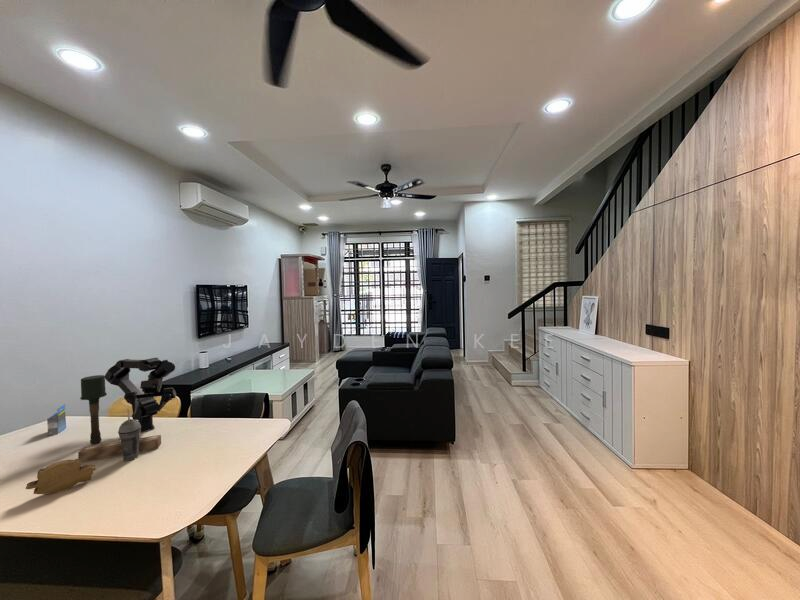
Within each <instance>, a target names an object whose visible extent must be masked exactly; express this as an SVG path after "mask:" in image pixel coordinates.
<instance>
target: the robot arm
mask: <svg viewBox="0 0 800 600" xmlns="http://www.w3.org/2000/svg"><path fill="white" fill-rule="evenodd" d="M131 369H138V370H139V371H141V372H149V371H150V372H149V373H148V375H147V377H148V378H147V380H141V382H140V387H139V388H140V389H141V390H140V389H139V388H138V387H137V386H136V385H135V384H134V383H133V381H132V380H130V373H131ZM175 370H176V365H175V364H174V363H173V362H171V361H168V359H163V360H160V359H159V357H151V358H146V359H130V358H127V359H119V360H118V361H116V363H115V364H114V365H113V366H111V367H110V368H108V370H107V371H106V373H105V375H104V376H105V381H107V382H108V383H109V384H110V385H114V386H116V387H118V388H119V389H121V391H122V392H123V393H124V396H123V399H124V400H125V401H126V403H127V404H130V405H131V409H132V415H131V417H132V419H134V420H137V421H138V422H139V423H140V425H141V432H140V433H142V432H148V431H151V429H152V430H156V428H155V426H154V422H153V418H154V417H153V416H155V415H158V412H160V411H161V410H162V409H163V408H164V407H165V405H167V403H169V402H170V401H172V400H174V399H176V396H177V392H176V390H175V388H174V387H166V388H163V390H162V391H161V389H162V386H163V385H162V383H163V379H164V378H166V377H168V376H169V375H170V374H171V373H174V371H175ZM157 397H160V401H159V402H158V401H157V399H155V398H157Z"/></svg>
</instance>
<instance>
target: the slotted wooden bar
mask: <svg viewBox="0 0 800 600" xmlns="http://www.w3.org/2000/svg"><path fill="white" fill-rule="evenodd" d="M161 444H162V435H161V434H156V435H152V436H145V437H141V436H140V441H139V453H140V451H141V452H146V451H152V450H156V449H157V448H158V449H159V448H160V446H161ZM151 449H152V450H151ZM145 450H146V451H145ZM77 456H78V457H77V459H79V460H80V462H81V463H84V461H85V462H89V461H90V462H91V461H96V460H101V459H106V458H113V457H116V456H117V457H118V456H123V453H122V446H121V440H120V441H115V442H107V443H104V444H95V445H90V446H84V447H83V448H82V449H80V450H79V451H78V452H77Z"/></svg>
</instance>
